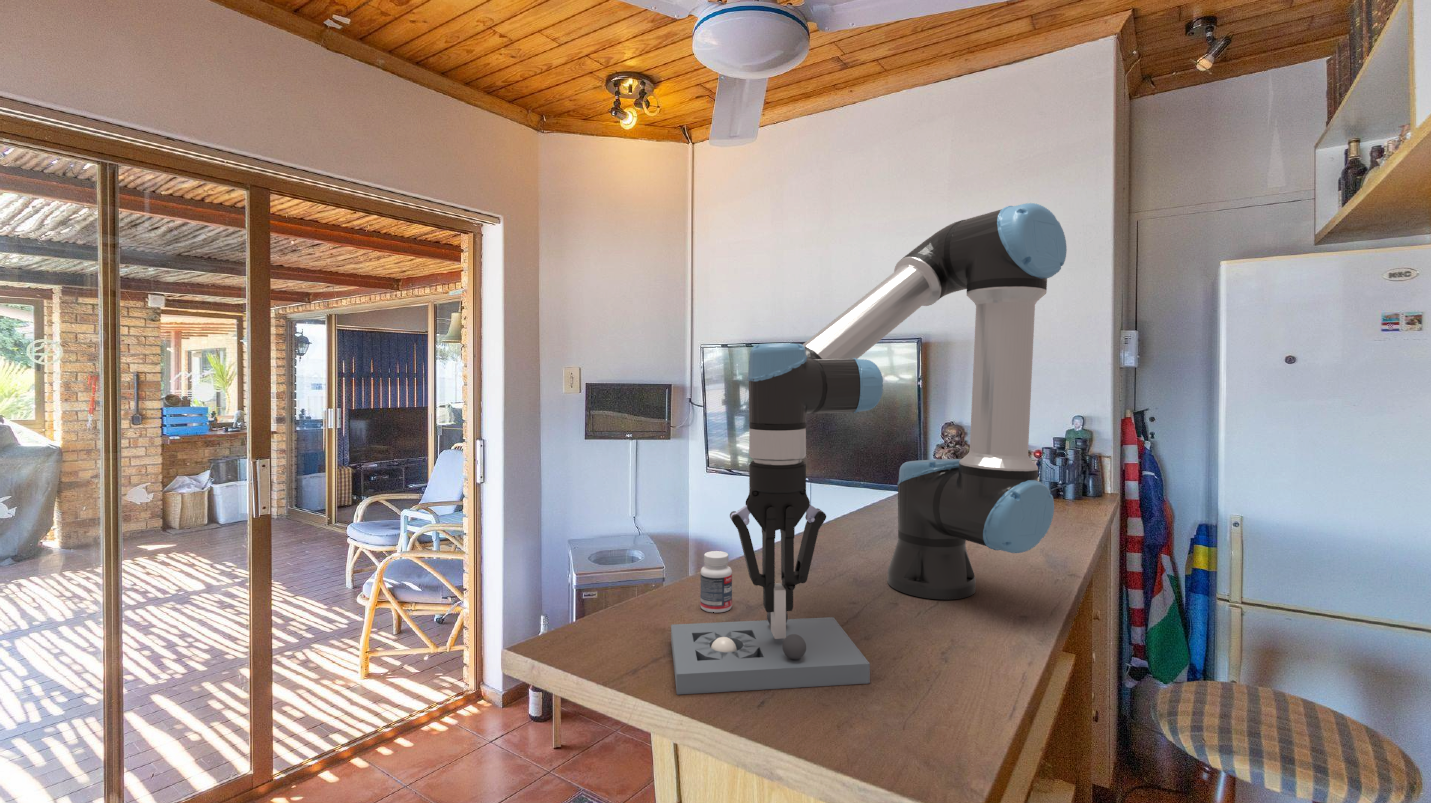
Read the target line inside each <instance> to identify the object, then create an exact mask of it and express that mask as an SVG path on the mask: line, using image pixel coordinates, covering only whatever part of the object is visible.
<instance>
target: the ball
mask: <svg viewBox="0 0 1431 803" xmlns="http://www.w3.org/2000/svg"><path fill="white" fill-rule="evenodd" d="M711 648H712V649H714V650H715V651H720V652H734V651H737V648H736V645H735V643H734V642H733V641H732V640H731V639H730V638H727V637H720V638H717V639H716V640H715V641H714V642H713V643H712V645H711Z"/></svg>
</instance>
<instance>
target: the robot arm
mask: <svg viewBox="0 0 1431 803" xmlns="http://www.w3.org/2000/svg"><path fill="white" fill-rule="evenodd" d="M1067 250H1068V249H1067V240H1066V235H1065V232H1064V229H1063V226H1062V225H1061V223H1060V221H1059V220H1058V219H1057V217H1056V216H1055V214H1054V213H1053V212H1052V211H1051V210H1049V208H1047V207H1045V206H1044V205H1042V204H1038V203H1035V202H1034V203H1033V202H1027V203H1021V204H1018V205H1007V206H1005V207H1003V208H1002V209H998V210H994V211H991V212H987V213H983V214H980V215H976V216H973V217H970V218H966V219H961V220H958V221H956V222H955V221H954V222H952V223H950V224H948V225H947V226H945V227H943V228H941V229H939V230H938V231H937V232H935V233H934V234H932V235H931V236H930V237H928V238H926V239H925V240H924V241H922V242H921V243H920V244H919V245H917V246H916V247H915V248H913V249H912V250H911V251H909V253H907V254H906V255H904V256H903V257H902V258H901V259H900V260H898V262H897V263H896V264H895V266H894V271H893V273H891V274H890V275H889V276H888V277H887V278H885V279H883V281H881V282H880V283H879V284H876V286H875V287H874V288H872V289H870V290H869V291H868V293H866V294H864V296H862V297H861V298H860V299H858V300H857V301H856V302H855V303H853V304H852V305H851V306H850V307H848V308H847V309H846V310H845V311H843V312H842V313H841V314H839V315H838V316H837V317H835V318H834V319H833V320H832V321H831V322H829V323H828V324H826V326H824V327H822V329H820V330H819V331H818V332H817V333H816V334H815V333H814V335H813V336H811V337H810V338H809V339H808V340H807V341H805V342H804V343H803V344H802V343H789V342H788V343H786V342H785V343H782V342H780V343H779V342H778V343H777V342H776V343H760V344H756V345H753V347H752V348H751V349H750V351H749V357H748V358H749V360H748V369H747V381H748V422H749V423H748V424H749V426H748V427H749V428H748V430H749V431H748V432H749V433H748V434H749V436H748V437H749V438H748V440H749V441H748V442H749V443H748V447H749V448H748V450H749V451H748V452H749V454H748V455H749V456H748V457H749V458H751V459H753V460H751V461H750V463H749V466H748V469H749V471H748V472H749V474H748V478H749V479H748V481H749V482H748V484H749V486H748V488H749V490H748V491H749V492H748V496H747V497H746V500H745V505H744V506H743V507H741V508H740V509H738V510H737V511H735V510H733V511H731V512H730V514H729V518H730V519H731V520H730V521H732V523H733V525H734V526H735V529H737V531H738V532H737V533H738V536H739V539H740V544H741V548H742V551H743V552H742V553H743V555H744V560H745V564H746V568H747V572H748V576H749V578H750V581H751V582H752V584H753V585H754V586H757V587H758V586H759V587H762V602H763V603H762V605H763V608H764V609H765V611H766V613H767V612H771V632H772V634H773V636H774V638H775V639H782V638H786V611H787V612H792V611H793V609H794V590H795V589H796V585H798V584H805V583H806V582H807V581H808V577H809V573H810V568H811V565H812V560H813V556H814V551H815V547H816V544H817V540H818V534H819V532H820V529H821V527H822V526H823V524H824V522H825V521H826V519H827V514H826V513H825V512H824V511H823V510H821V508H816V507H814V506H813V505H811V501H810V498H809V497H808V494H807V464H806V463H805V462H804V461H803V460H804V459H805V458H806V457H807V432H806V431H807V428H806V427H807V415H813V414H838V413H840V414H841V413H842V414H843V413H850V414H857V413H859V412H868V411H871V410H872V409H874V408H875V407H876V406H877V405H878V404H879V403H880V401H881V399H882V396H883V392H884V378H883V374H882V372H881V370H880V368H879V367H878V365H877V364H876V363H875V362H873V361H872V360H870V359H864V358H863V359H862V358H861V357H862V356H863V355H864V354H865V353H867V351H869V350H871V348H872V347H874V346H875V345H876V344H878V343H879V342H880V341H881V340H883V339H884V338H885V337H886V336H887V335H888V334H890V333H891V332H892V331H893V330H894V329H896V328H897V327H898V326H899V325H901V324H902V323H903V322H904V321H905V320H907V319H908V318H909V317H910V316H912V315H913V314H914V313H915V312H916V311H918V310H919V309H920V308H921V307H928V306H932V305H934V304H936V303H937V302H938V301H939V300H940V299H942V298H943V297H945V296H947V295H949V294H952V293H956V292H960V291H963V290H966V296H967V297H968V299H970V300H971V302H972V303H973V304H974V306H975V318H974V319H975V321H974V323H975V324H974V345H973V347H974V348H973V364H972V366H973V369H972V371H973V372H972V390H971V412H970V414H971V416H970V436H969V451H968V453H967V454H966V455H965V456H964V457H962V458H945V459H944V458H943V459H924V460H922V459H921V460H919V459H918V460H909V461H906V462H904V463H902V464H901V465H900V467H899V473H898V481H897V542H896V545H895V549H894V551H893V554H892V557H891V559H890V562H889V564H888V567H887V584H888V585H889V586H890V587H891V588H892V589H894V590H896V591H897V592H901V593H903V594H905V595H909V596H914V597H917V598H924V599H929V600H945V601H946V600H959V599H965V598H968V597H970V596H972V595H973V594H975V592H976V584H977V582H976V576H975V572H974V569H973V567H972V563H971V559H970V556H969V554H968V551H967V547H966V544H967V542H971V543H974V544H977V545H981V546H983V547H987V548H988V549H991V550H993V551H1001V552H1007V553H1011V554H1021V553H1026V552H1028V551H1030V550H1032V549H1033V548H1035V547H1036V546H1037V545H1038V544H1040V542H1041V541H1042V540H1043V539H1044V537H1045V536H1046V534H1047V533H1048V531H1049V529H1050V528H1051V524H1052V522H1053V518H1054V513H1055V502H1054V496H1053V495H1052V494H1051V490H1050V488H1049V487H1048V486H1047V485H1045V484H1044V483H1043V482H1042V481H1039V480H1038V478H1039V467H1038V465H1037V464H1036V463H1035V462H1034V461H1033V460H1032V458H1030V456H1029V444H1030V443H1029V440H1030V420H1031V419H1030V418H1031V417H1030V416H1031V402H1032V401H1031V397H1032V379H1033V378H1032V376H1033V375H1032V374H1033V356H1034V355H1033V354H1034V337H1035V336H1034V333H1035V332H1034V331H1035V310H1036V304H1037V302H1038V301H1040V299H1041V300H1042V298H1043V297H1044V296H1045V295H1046V294H1047V292H1048V291H1047V289H1048V288H1047V287H1048V279H1050V278H1053V276H1055V275H1056V274H1058V273H1059V272H1060V271H1061V270H1062V266H1064V264H1065V261H1066V258H1067ZM750 515H751V516H752V517H753V518H754V520H755V521H756V522H757V524H758V525H759V526H760V528H761V534H762V535H761V540H762V544H761V545H762V547H761V550H762V552H761V553H762V558H761V559H762V562H761V564H762V570H761V571H762V573H760V570H759V566H758V561H757V558H756V553H755V551H754V550H755V549H754V546H753V542H752V538H751V534H750V530H749V529H748V528H749V527H748V525H749V524H750V518H749V516H750ZM803 516H805V520H806V522H805V524H804V529H803V533H802V537H801V542H800V546H799V551H798V555H797V559H796V563H795V552H794V551H795V550H794V548H795V540H794V539H795V536H796V535H795V534H796V533H795V532H796V531H795V528H796V526H797V525H798V524H799V522H800V521H801V520H802V518H804V517H803ZM776 531H780V532H779V533H780V567H781V568H780V572H781V573H780V575H781V576H780V578H781V582H778V583H777V582H776V578H775V576H776V575H775V574H776V569H775V568H776V565H775V564H776V562H775V561H776V560H775V559H776V558H775V555H776V554H775V552H776V551H775V550H776V548H775V542H776V541H775V539H776ZM966 541H967V542H966ZM775 582H776V583H775Z"/></svg>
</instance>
